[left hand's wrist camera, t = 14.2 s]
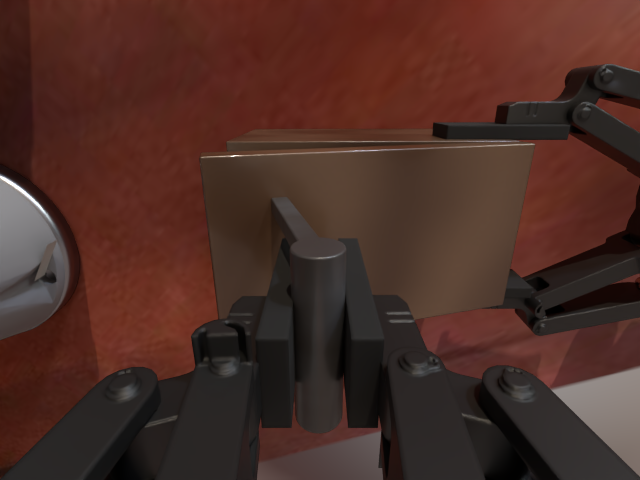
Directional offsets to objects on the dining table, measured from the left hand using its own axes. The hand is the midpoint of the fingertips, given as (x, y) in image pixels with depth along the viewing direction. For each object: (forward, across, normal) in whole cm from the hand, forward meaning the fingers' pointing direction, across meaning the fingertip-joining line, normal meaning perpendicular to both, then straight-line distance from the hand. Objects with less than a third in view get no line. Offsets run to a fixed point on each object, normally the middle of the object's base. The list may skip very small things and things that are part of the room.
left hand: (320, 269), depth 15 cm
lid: (+4, -3, 0) cm, 5 cm away
